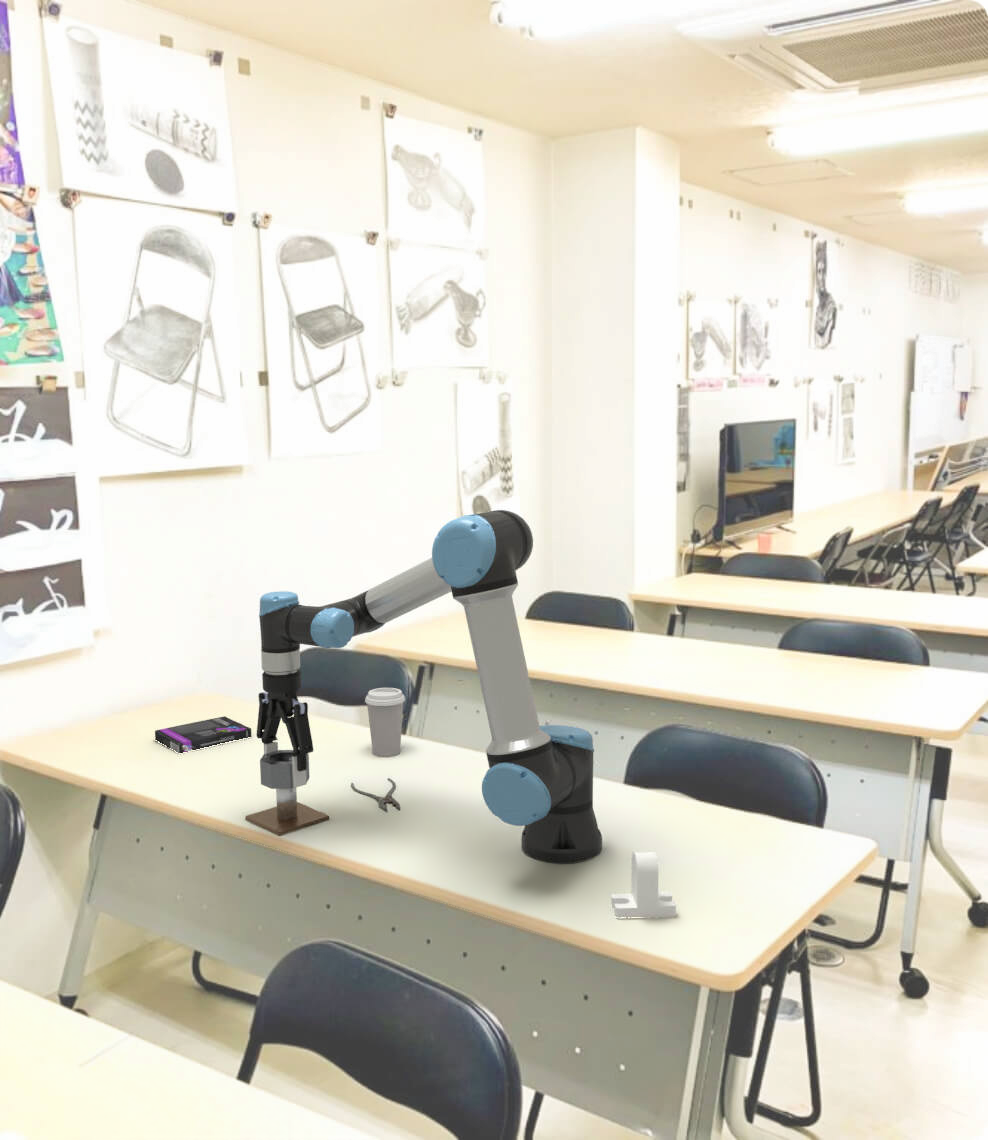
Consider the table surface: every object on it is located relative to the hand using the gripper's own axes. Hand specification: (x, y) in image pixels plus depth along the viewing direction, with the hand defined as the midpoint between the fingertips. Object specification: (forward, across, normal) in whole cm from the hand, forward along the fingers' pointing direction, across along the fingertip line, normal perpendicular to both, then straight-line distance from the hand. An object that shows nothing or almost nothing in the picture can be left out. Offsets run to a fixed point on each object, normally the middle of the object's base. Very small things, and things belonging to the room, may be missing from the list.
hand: (285, 779), depth 222 cm
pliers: (+9, -3, -23) cm, 25 cm away
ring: (0, 0, 0) cm, 0 cm away
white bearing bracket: (+9, -76, -18) cm, 79 cm away
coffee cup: (+9, +19, -41) cm, 46 cm away
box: (+9, +60, -16) cm, 63 cm away
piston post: (+8, 0, 0) cm, 8 cm away
